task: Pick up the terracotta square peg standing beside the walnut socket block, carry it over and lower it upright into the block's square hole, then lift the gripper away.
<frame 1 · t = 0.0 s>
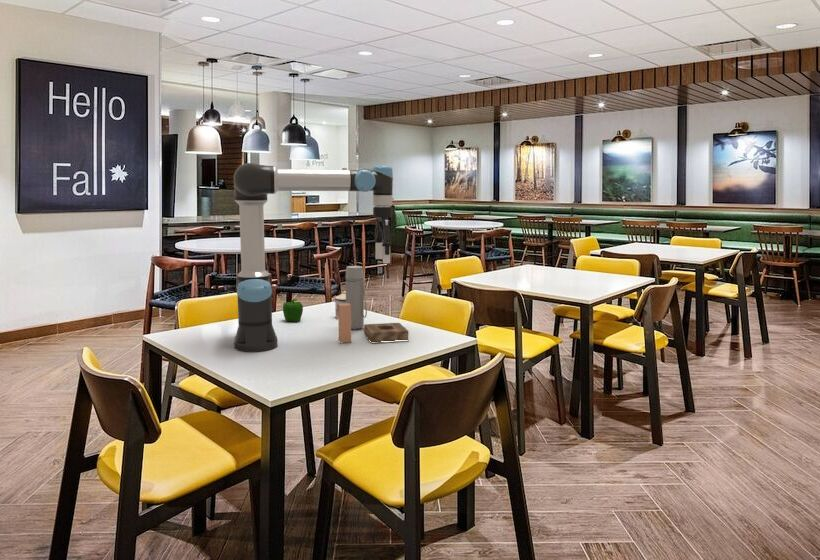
hand: (382, 261, 243), 28 cm above the table, tool pointing down, fingers open, 13 cm apart
peg: (344, 341, 230), on the table
teacup with lid: (348, 318, 271), on the table
water bottle: (356, 328, 251), on the table
socket block: (385, 337, 236), on the table
bell pepper: (293, 321, 263), on the table
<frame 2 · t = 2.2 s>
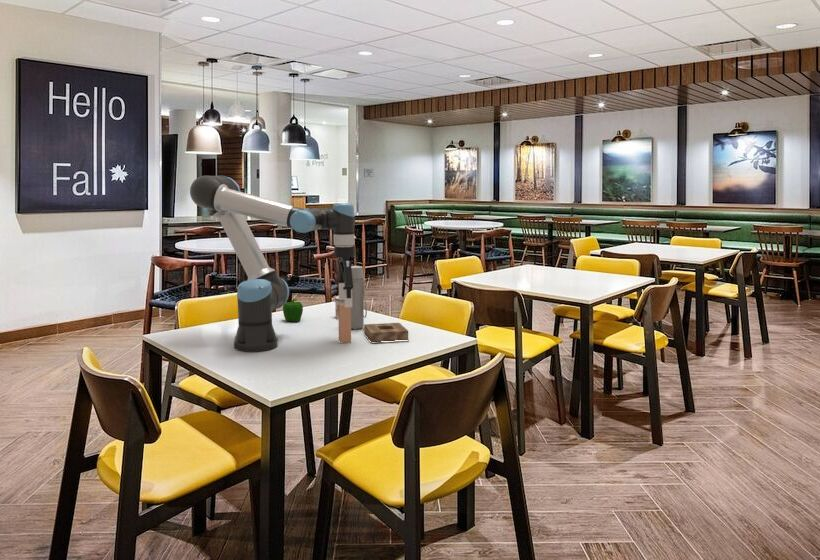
hand: (345, 303, 228), 14 cm above the table, tool pointing down, fingers open, 13 cm apart
nothing on the table moved.
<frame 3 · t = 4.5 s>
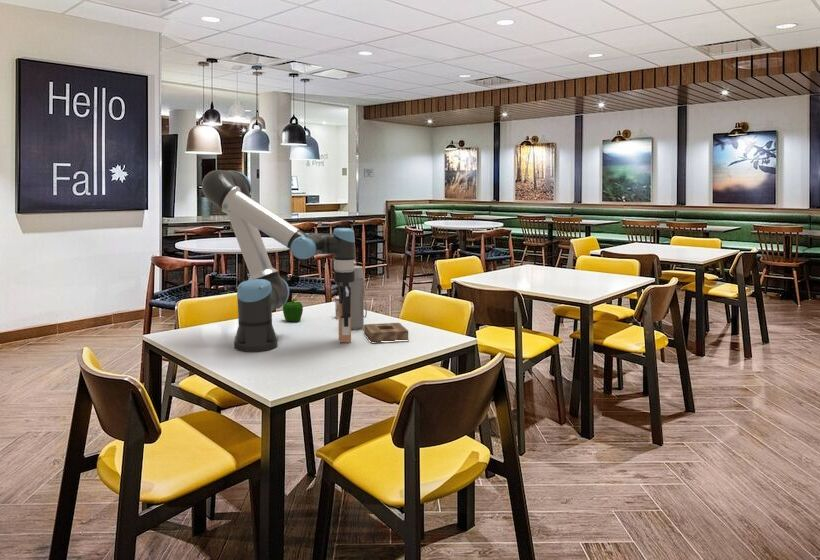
hand: (344, 333, 230), 3 cm above the table, tool pointing down, fingers closed on peg, 4 cm apart
peg: (344, 341, 230), on the table, touching gripper
everything else where it was.
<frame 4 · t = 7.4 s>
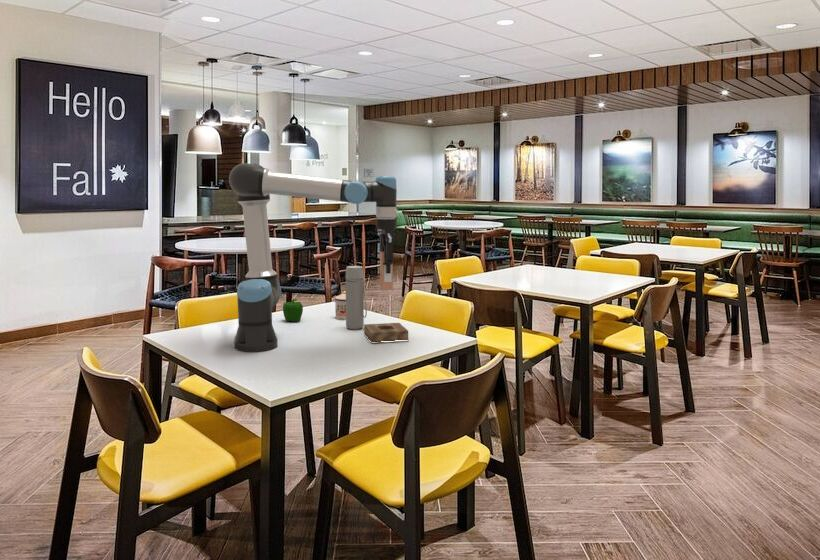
hand: (386, 280, 233), 22 cm above the table, tool pointing down, fingers closed on peg, 4 cm apart
peg: (386, 289, 233), point 19 cm above the table, touching gripper
everything else where it was.
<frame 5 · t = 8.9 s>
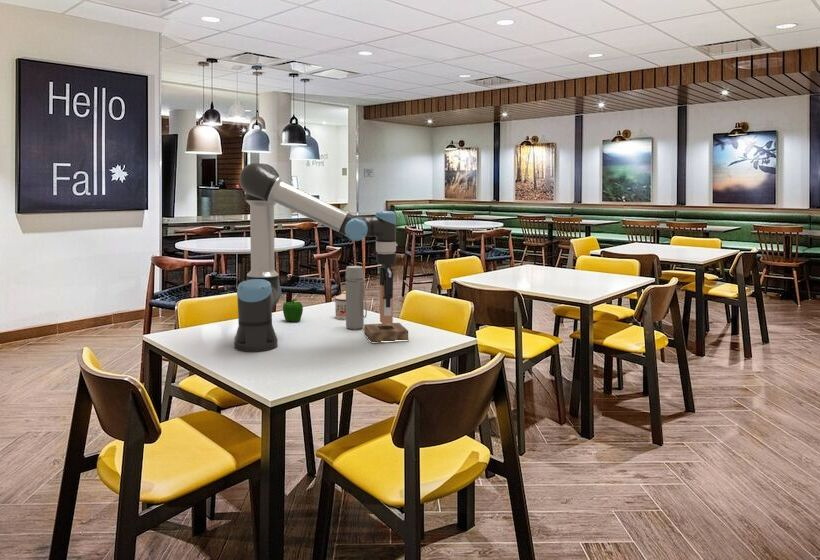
hand: (386, 314, 235), 9 cm above the table, tool pointing down, fingers closed on peg, 4 cm apart
peg: (386, 322, 235), point 6 cm above the table, touching gripper
everything else where it was.
when the fingers open (5 cm above the table, at t = 10.3 s): peg drops 2 cm, resting in socket block.
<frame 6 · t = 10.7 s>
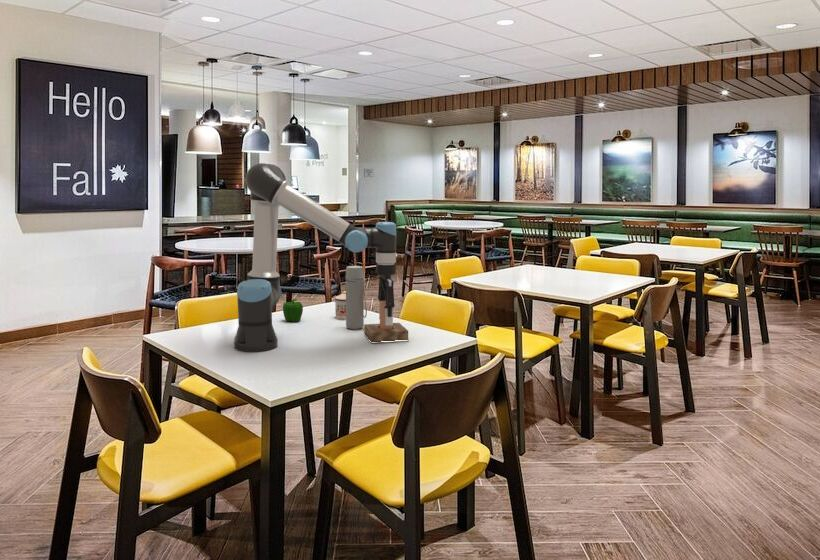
hand: (385, 321, 235), 6 cm above the table, tool pointing down, fingers open, 10 cm apart
peg: (385, 337, 236), resting in socket block
everything else where it was.
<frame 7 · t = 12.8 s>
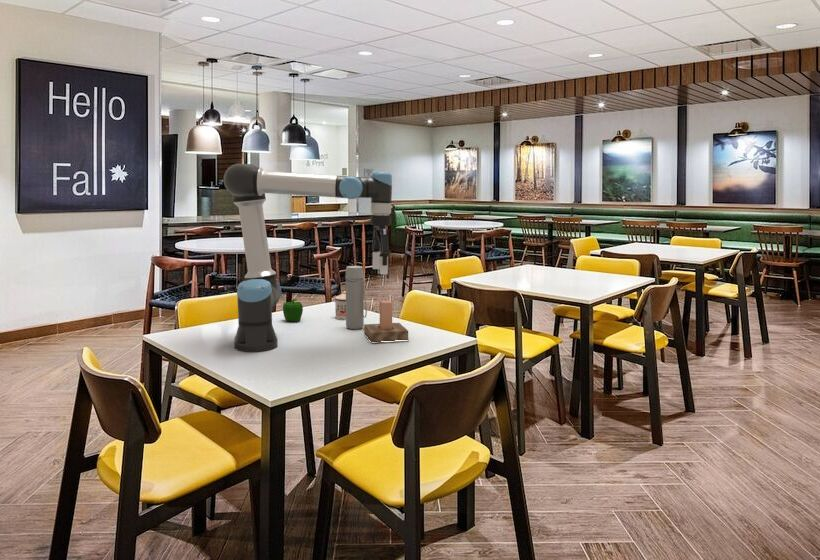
hand: (379, 271, 232), 25 cm above the table, tool pointing down, fingers open, 13 cm apart
nothing on the table moved.
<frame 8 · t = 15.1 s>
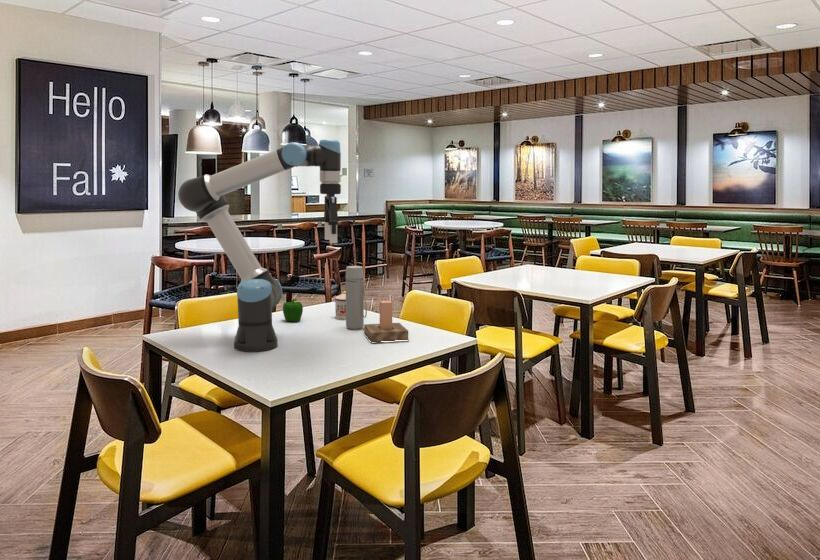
hand: (330, 241, 229), 37 cm above the table, tool pointing down, fingers open, 13 cm apart
nothing on the table moved.
at the end: peg 0.0 cm off-centre on the socket block, point 0.0 cm above the socket block's base; peg tilted 0°; the gripper is holding nothing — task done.
